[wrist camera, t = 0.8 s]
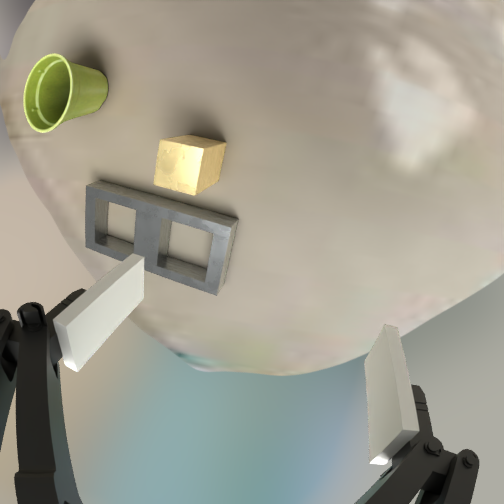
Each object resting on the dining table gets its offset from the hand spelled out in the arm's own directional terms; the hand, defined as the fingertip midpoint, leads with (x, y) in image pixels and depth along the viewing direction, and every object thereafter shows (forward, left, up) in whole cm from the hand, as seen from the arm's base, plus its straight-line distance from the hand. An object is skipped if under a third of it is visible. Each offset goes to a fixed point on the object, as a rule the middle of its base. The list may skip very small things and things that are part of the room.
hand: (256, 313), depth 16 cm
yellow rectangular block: (-3, -11, -21) cm, 24 cm away
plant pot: (-9, -29, -21) cm, 37 cm away
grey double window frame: (+8, -16, -20) cm, 27 cm away
